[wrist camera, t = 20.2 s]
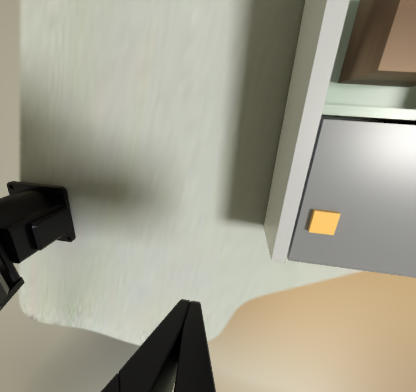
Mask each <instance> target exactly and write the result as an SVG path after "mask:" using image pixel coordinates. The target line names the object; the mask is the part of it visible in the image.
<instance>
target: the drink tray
mask: <svg viewBox="0 0 416 392" xmlns="http://www.w3.org/2000/svg"><path fill="white" fill-rule="evenodd" d="M359 2H360V0H305V5H304V10H303V16H302V21H301V27H300V32H299V37H298V43H297V48H296V54H295V59H294V65H293V70H292V75H291V81H290V86H289V92H288V97H287V103H286V108H285V113H284V119H283V124H282V130H281V135H280V141H279V146H278V151H277V157H276V162H275V168H274V173H273V179H272V184H271V189H270V195H269V200H268V206H267V211H266V217H265V222H264V230H265V234H266V239H267V243H268V248H269V252H270V257H271V260H272V261H279V262H286V257H287V253H288V249H289V245H290V241H291V237H292V233H293V229H294V225H295V221H296V217H297V213H298V209H299V205H300V201H301V196H302V192H303V188H304V184H305V180H306V176H307V172H308V168H309V164H310V160H311V156H312V152H313V148H314V144H315V139H316V135H317V131H318V127H319V123H320V119H321V115H325V116H340V117H355V118H371V119H386V120H402V121H416V86H413V87H395V86H377V85H359V84H341V83H338V81H339V77H340V74H341V70H342V66H343V62H344V59H345V55H346V51H347V47H348V43H349V40H350V36H351V32H352V28H353V25H354V21H355V17H356V13H357V10H358V6H359Z"/></svg>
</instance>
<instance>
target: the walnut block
mask: <svg viewBox="0 0 416 392" xmlns="http://www.w3.org/2000/svg"><path fill="white" fill-rule="evenodd" d="M338 83H341V84H359V85H377V86H395V87H413V86H416V0H360V2H359V6H358V10H357V13H356V17H355V21H354V25H353V28H352V32H351V36H350V40H349V43H348V47H347V51H346V55H345V59H344V62H343V66H342V70H341V74H340V77H339V81H338Z"/></svg>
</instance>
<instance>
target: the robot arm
mask: <svg viewBox="0 0 416 392" xmlns="http://www.w3.org/2000/svg"><path fill="white" fill-rule="evenodd" d="M7 187H8V191H9V194H10V195H9V196H6V197H3V198H0V310H1V309H2V308H3V307H4V306H5V304H6V303H7V302H8V301H9V300H10V299H11V298H12V296H13V295H14V294H15V293H16V292H17V291H18V289H19V288H20V287H21V286H22V285H23V284H24V280H23V278H22V277H20V276H19V274H18V272H17V270H16V268H15V266H14V264H13V263H21V262H22V261H23V260H25V259H26V258H28V257H29V256H31V255H32V254H34V253H35V252H37V251H38V250H42V249H44V248H45V247H47V246H48V245H50V244H51V243H53V242H54V241H55V240H60V241H67V242H72V241H73V240H75V232H74V227H73V222H72V217H71V212H70V207H69V202H68V197H67V192H66V190H65V188H63V187H60V186H51V185H42V184H34V183H25V182H16V181H12V182H9V183H7ZM60 191H61V192H60ZM174 383H175V387H174V392H216V389H215V384H214V378H213V372H212V367H211V361H210V356H209V349H208V344H207V338H206V332H205V326H204V321H203V315H202V309H201V304H200V302H197V301H191V302H190V301H189V300H185V299H181V300H180V301H179V302H178V303H177V305H176V306H175V307H174V308H173V309H172V310H171V311H170V313H169V314H168V315H167V316H166V317H165V318H164V320H163V321H162V322H161V323H160V324H159V325H158V327H157V328H156V329H155V330H154V331H153V332H152V334H151V335H150V336H149V337H148V338H147V339H146V340H145V342H144V343H143V344H142V345H141V346H140V347H139V349H138V350H137V351H136V352H135V353H134V355H133V356H132V357H131V358H130V359H129V360H128V361H127V363H126V364H125V365H124V366H123V367H122V369H120V371H119V374H118V373H117V374H116V375H115V376H114V377H113V379H112V380H111V381H110V382H109V383H108V384H107V386H106V387H105V388H104V389H103V390H102V391H101V392H172V390H173V386H174Z"/></svg>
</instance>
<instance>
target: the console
mask: <svg viewBox="0 0 416 392" xmlns="http://www.w3.org/2000/svg"><path fill="white" fill-rule="evenodd" d="M287 258H288V260H290V261H297V262H305V263H312V264H319V265H327V266H334V267H341V268H349V269H356V270H363V271H371V272H378V273H386V274H393V275H400V276H408V277H414V278H416V125H404V124H389V123H374V122H359V121H344V120H329V119H320V123H319V127H318V131H317V135H316V139H315V144H314V148H313V152H312V156H311V160H310V164H309V168H308V172H307V176H306V180H305V184H304V188H303V192H302V196H301V201H300V205H299V209H298V213H297V217H296V221H295V225H294V229H293V233H292V237H291V241H290V245H289V249H288V253H287Z"/></svg>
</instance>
